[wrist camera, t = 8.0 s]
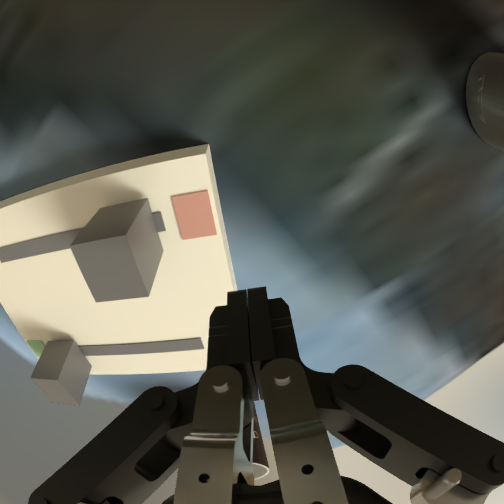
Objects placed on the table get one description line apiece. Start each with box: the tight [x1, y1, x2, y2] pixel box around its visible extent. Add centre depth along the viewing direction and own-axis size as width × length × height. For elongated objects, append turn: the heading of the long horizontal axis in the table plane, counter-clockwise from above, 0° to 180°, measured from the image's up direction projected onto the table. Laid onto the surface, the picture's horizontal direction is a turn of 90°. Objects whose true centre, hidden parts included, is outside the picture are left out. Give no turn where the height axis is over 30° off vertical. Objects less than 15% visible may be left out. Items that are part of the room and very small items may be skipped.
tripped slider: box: [70, 198, 164, 303], centre depth 18 cm, size 4×4×5 cm
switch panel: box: [0, 144, 237, 374], centre depth 25 cm, size 24×20×3 cm
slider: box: [31, 340, 92, 405], centre depth 25 cm, size 4×4×5 cm
